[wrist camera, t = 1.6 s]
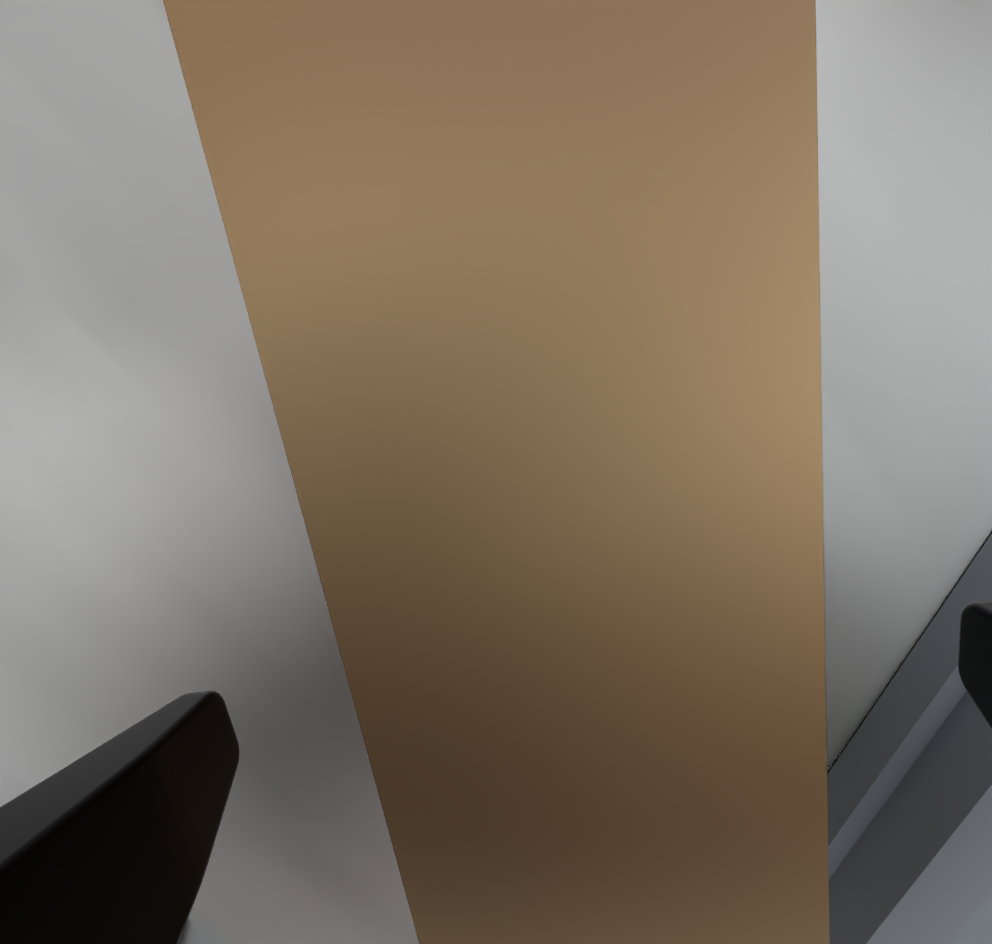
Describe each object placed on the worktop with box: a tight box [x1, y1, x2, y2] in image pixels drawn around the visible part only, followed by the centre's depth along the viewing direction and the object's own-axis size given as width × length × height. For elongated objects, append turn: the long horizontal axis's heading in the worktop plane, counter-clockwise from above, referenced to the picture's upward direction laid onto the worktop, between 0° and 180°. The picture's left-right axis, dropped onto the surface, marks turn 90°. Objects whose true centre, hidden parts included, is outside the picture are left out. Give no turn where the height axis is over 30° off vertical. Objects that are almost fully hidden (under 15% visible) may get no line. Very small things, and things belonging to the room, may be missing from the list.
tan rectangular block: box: [163, 0, 830, 944], centre depth 10 cm, size 14×4×9 cm, turn 9°
